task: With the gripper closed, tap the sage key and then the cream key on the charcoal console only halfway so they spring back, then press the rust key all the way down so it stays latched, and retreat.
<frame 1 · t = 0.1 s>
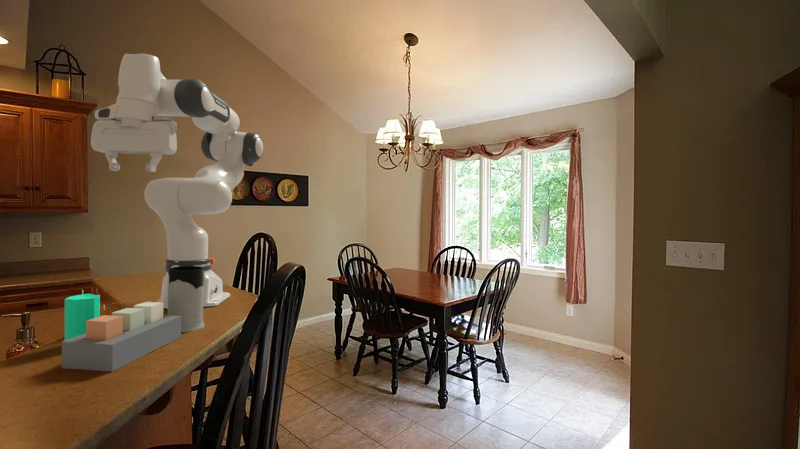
hand: (132, 171, 98), 39 cm above the countertop, tool pointing down, fingers open, 8 cm apart
key 1: (104, 333, 77), point 5 cm above the countertop, slide at 0.0 cm
key mid: (128, 324, 83), point 5 cm above the countertop, slide at 0.0 cm
console: (128, 350, 83), on the countertop
key 2: (148, 317, 89), point 5 cm above the countertop, slide at 0.0 cm
grey black ceramic vase: (190, 325, 103), on the countertop
candle: (82, 345, 86), on the countertop
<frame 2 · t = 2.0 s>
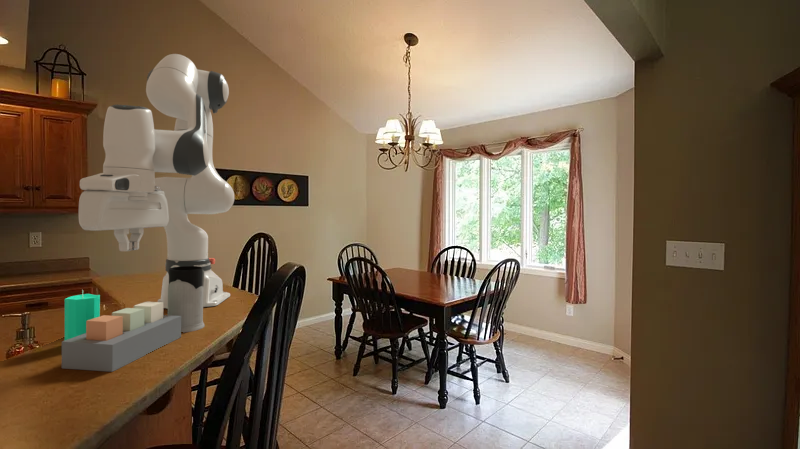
hand: (129, 250, 82), 21 cm above the countertop, tool pointing down, fingers closed
nothing on the countertop moved.
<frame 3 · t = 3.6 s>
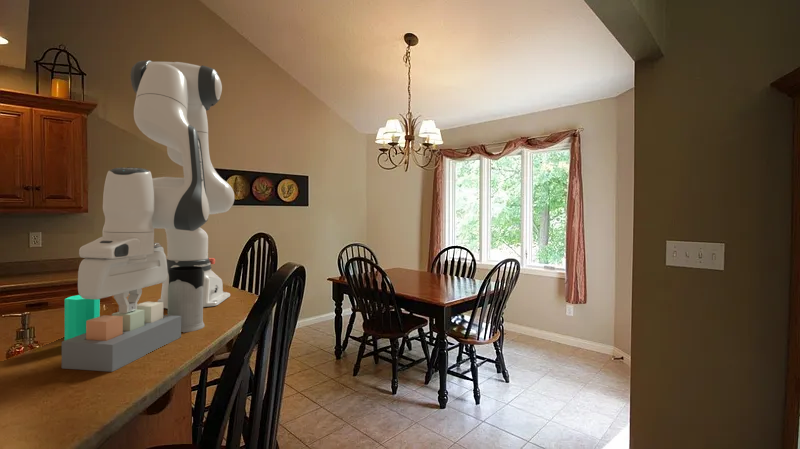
hand: (128, 311, 83), 8 cm above the countertop, tool pointing down, fingers closed, pressing on key mid
key mid: (128, 326, 83), point 5 cm above the countertop, slide at 0.2 cm, touching gripper
everything else where it was.
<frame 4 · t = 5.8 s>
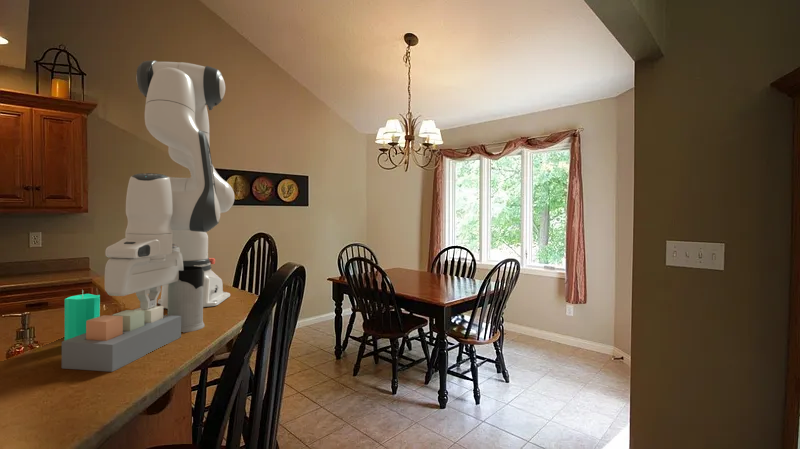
hand: (148, 308, 89), 8 cm above the countertop, tool pointing down, fingers closed, pressing on key 2
key mid: (128, 327, 83), point 5 cm above the countertop, slide at 0.4 cm
key 2: (148, 321, 89), point 5 cm above the countertop, slide at 0.9 cm, touching gripper
everything else where it was.
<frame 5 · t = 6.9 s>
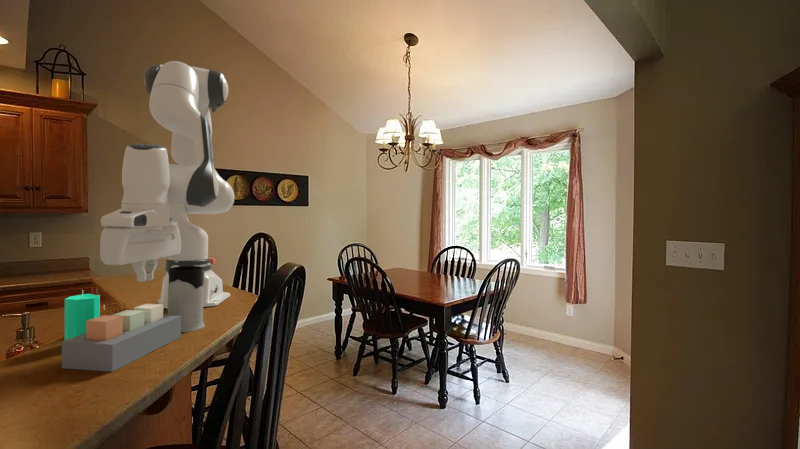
hand: (145, 280, 87), 14 cm above the countertop, tool pointing down, fingers closed
key 2: (148, 319, 89), point 5 cm above the countertop, slide at 0.4 cm
everything else where it was.
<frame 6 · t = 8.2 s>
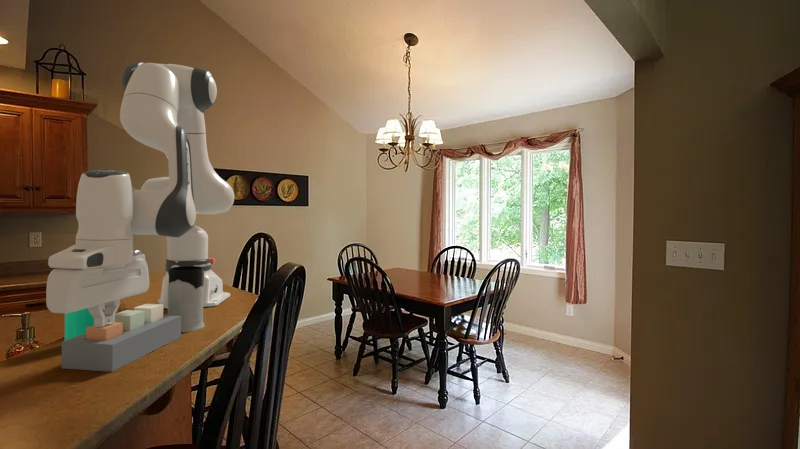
hand: (104, 325, 77), 7 cm above the countertop, tool pointing down, fingers closed, pressing on key 1
key 1: (104, 340, 77), point 4 cm above the countertop, slide at 1.3 cm, touching gripper
everything else where it was.
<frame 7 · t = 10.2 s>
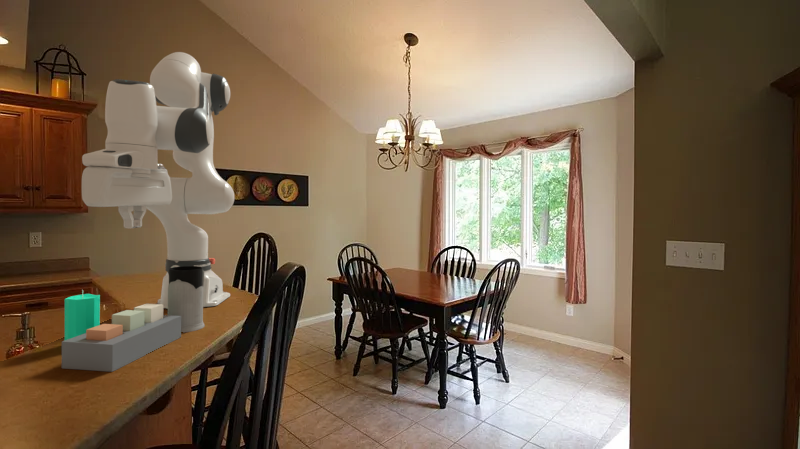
hand: (132, 227, 82), 26 cm above the countertop, tool pointing down, fingers closed
key 1: (104, 342, 77), point 4 cm above the countertop, slide at 1.7 cm
everything else where it was.
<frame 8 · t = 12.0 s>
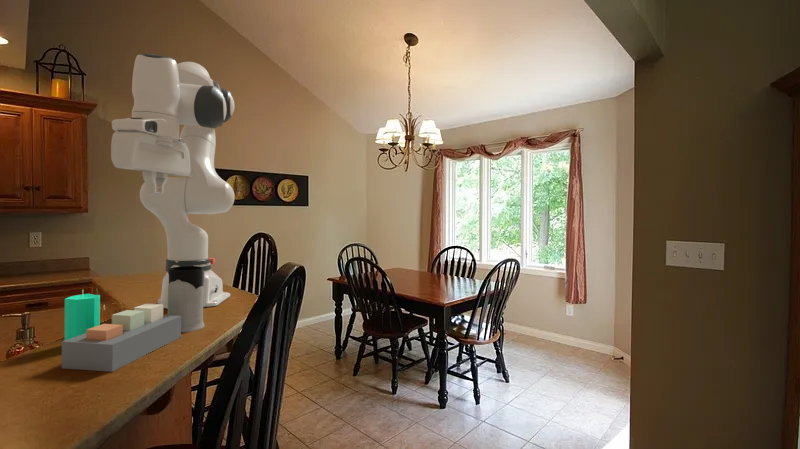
hand: (155, 193, 87), 33 cm above the countertop, tool pointing down, fingers closed
nothing on the countertop moved.
at the end: key 1 slide at 1.7 cm; key mid slide at 0.4 cm; key 2 slide at 0.4 cm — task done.
